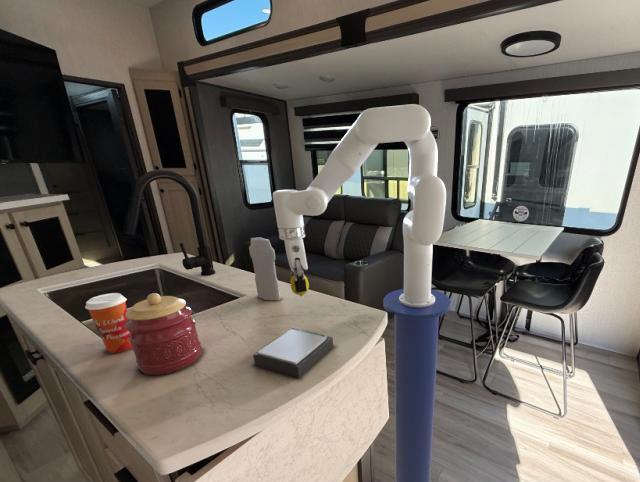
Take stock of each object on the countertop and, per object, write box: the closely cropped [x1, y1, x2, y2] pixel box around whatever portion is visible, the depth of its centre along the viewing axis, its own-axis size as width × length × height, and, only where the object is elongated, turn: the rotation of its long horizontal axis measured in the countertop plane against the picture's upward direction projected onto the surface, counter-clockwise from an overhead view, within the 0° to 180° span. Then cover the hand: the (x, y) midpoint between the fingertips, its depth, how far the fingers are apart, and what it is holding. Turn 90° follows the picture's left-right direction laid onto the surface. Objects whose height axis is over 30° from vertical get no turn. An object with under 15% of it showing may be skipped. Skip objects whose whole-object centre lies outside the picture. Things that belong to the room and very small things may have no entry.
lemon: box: [290, 274, 310, 297], centre depth 101 cm, size 6×6×8 cm
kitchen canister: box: [124, 292, 202, 376], centre depth 75 cm, size 13×13×18 cm
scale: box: [252, 327, 334, 379], centre depth 79 cm, size 14×13×4 cm
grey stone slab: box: [248, 237, 281, 301], centre depth 110 cm, size 11×4×22 cm, turn 69°
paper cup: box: [85, 292, 133, 354], centre depth 81 cm, size 8×8×14 cm
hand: (300, 287), depth 102 cm, fingers closed on lemon, 5 cm apart
